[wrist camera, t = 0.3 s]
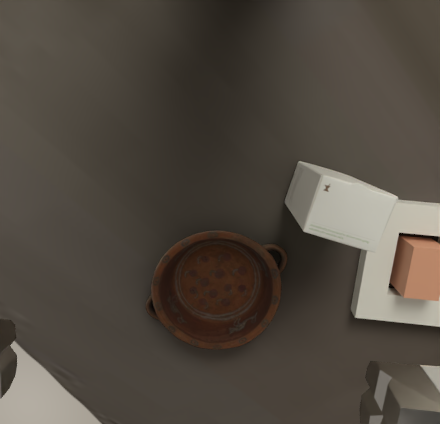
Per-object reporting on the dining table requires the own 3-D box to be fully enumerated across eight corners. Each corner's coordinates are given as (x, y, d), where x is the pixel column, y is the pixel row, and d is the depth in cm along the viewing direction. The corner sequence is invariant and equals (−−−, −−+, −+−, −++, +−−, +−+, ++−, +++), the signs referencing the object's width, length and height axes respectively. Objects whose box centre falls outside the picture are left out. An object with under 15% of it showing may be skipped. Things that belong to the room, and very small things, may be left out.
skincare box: (283, 202, 56) (297, 233, 40) (298, 156, 54) (319, 171, 39) (340, 219, 56) (375, 257, 41) (357, 175, 54) (401, 196, 39)
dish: (310, 298, 59) (315, 315, 54) (180, 354, 62) (174, 374, 58) (259, 195, 56) (260, 202, 51) (125, 259, 59) (115, 272, 54)
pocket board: (370, 197, 55) (376, 200, 52) (473, 206, 54) (484, 210, 52) (350, 309, 59) (355, 317, 56) (446, 319, 58) (455, 328, 56)
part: (397, 234, 56) (414, 247, 50) (430, 237, 56) (450, 250, 50) (388, 281, 57) (403, 297, 52) (420, 284, 57) (438, 301, 52)
